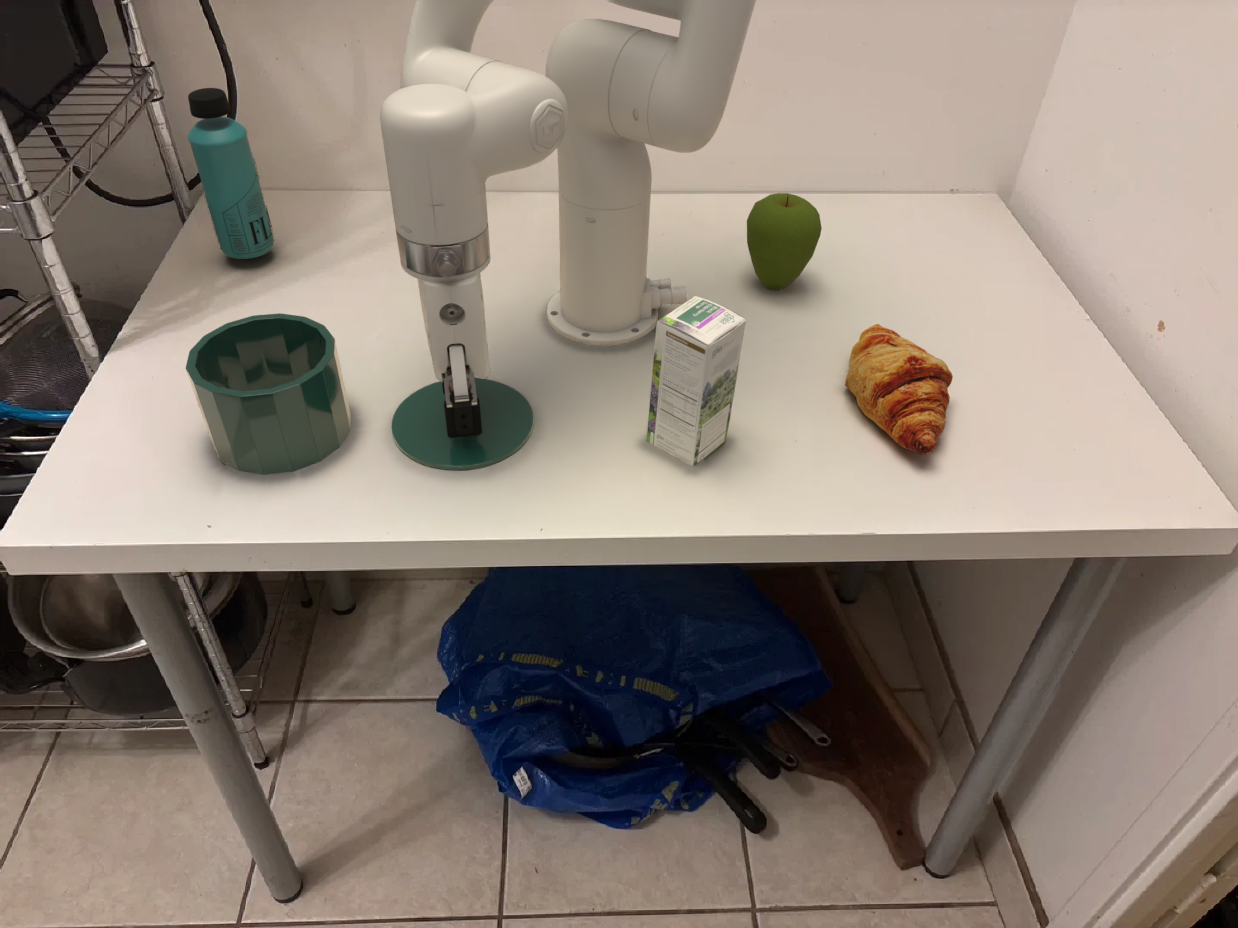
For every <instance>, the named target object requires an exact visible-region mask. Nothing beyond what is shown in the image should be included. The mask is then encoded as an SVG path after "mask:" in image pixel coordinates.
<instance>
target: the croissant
mask: <svg viewBox="0 0 1238 928" xmlns="http://www.w3.org/2000/svg"><path fill="white" fill-rule="evenodd" d="M858 339H859V340H858V341H857V342H856V343H855V344H854V345H853V346H852V349H851V352H850V356H849V361H848V367H849V370H848V374H847V376H846V377H845V378H846V379H845V382H844V386H845V387H846V388H847V389H848V390H849V391H850V392H851V394H853V396H854V397H856V403H857V406H858V408H859V409H860V411H862V413H863V415H864V416H866V417H867V418H868V419H869V420H871V421H872V422H873V423H875V424H876V425H877V426H878V427H879V428H880V429H881V430H883V431H884V432H885V433H886V434H887V435H888V436H889V437H890V438H891V439H892V440H893V441H894V442H895V443H896V444H897V445H898V446H900V447H902V448H904V449H906V450H909V451H912V452H914V453H918V454H919V455H927V454H931V453H933V452H934V451H935V450H936V448H937V446H938V445H939V441H938V438H939V437H940V436H941V435H942V434H943V433H944V430H945V427H946V423H947V421H946V417H947V415H946V413H947V411H948V407H949V404H950V398H951V397H950V394H949V390H948V389H949V388H950V386H951V384H952V383H953V372H952V371H951V370H950V369H949V367H948V364H947V363H946V362H945V361H944V360H942V359H941V358H939V357H937V356H935V355H933V354H931V353H929V352H928V351H927V350H925V349H924V348H922V347H921V346H919V345H917V344H915V343H914V342H912V341H910V340H908V339H906V338H905V337H902V336H901V334H899V333H897V332H896V331H895V330H893V329H890V328H887V327H883V326H882V325H880V324H879V323H875V324H873V325H871V326H869V327H868V328H866V329H864V330H863V331H862V332H861V333H860V335H859V338H858Z"/></svg>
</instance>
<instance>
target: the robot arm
mask: <svg viewBox="0 0 1238 928" xmlns="http://www.w3.org/2000/svg"><path fill="white" fill-rule="evenodd" d="M606 1H607V2H609V3H612V4H614V5H616V6H620V7H623V8H625V9H626V8H627V9H631V10H634V11H637V12H642V13H646V14H651V15H655V16H659V17H663V18H668V19H672V20H677V21H680V24H679V25H680V26H679V32H678V36H676V35H670V34H666V33H663V32H657V31H654V30H651V29H649V28H644V27H640V26H635V25H632V24H628V23H627V24H626V23H624V22H619V21H614V20H608V19H602V18H585V19H580V20H577V21H574V22H572V23H570V24H568V25H566V26H564V27H563V29H562V30H560V31H559V32H558V33H557V35H556V36H555V37H554V39H553V41H552V42H551V45H550V47H549V50H548V53H547V57H546V63H545V75H544V74H542V73H540V72H538V71H534V70H532V69H528V68H525V67H521V66H518V65H515V64H510V63H507V62H504V61H502V60H497V59H494V58H491V57H487V56H483V55H479V54H477V53H472V48H473V43H474V41H475V37H476V33H477V30H478V27H479V25H480V23H481V21H482V18H483V17H484V15H485V13H486V11H487V10H488V9H489V7H490V6H491V5H492V3H493V2H494V0H416V1H415V4H414V7H413V10H412V15H411V17H410V24H409V28H408V32H407V37H406V42H405V47H404V51H403V57H402V65H401V72H400V84H399V86H400V88H399V89H397V90H395V91H393V92H392V93H390V94H389V95H388V96H387V97H386V98H385V99H384V101H383V102H382V106H381V109H380V114H379V120H380V121H379V122H380V130H381V136H382V144H383V151H384V157H385V162H386V163H385V165H386V173H387V179H388V185H389V186H388V187H389V193H390V199H391V205H392V214H393V219H394V220H393V221H394V227H395V233H396V234H395V235H396V241H397V248H398V255H399V261H400V266H401V268H402V270H403V271H404V272H405V273H406V274H407V275H409V276H411V277H413V278H415V279H417V285H418V291H419V298H420V305H421V312H422V318H423V324H424V329H425V334H426V335H425V336H426V341H427V344H428V349H429V353H430V358H431V364H432V368H433V372H434V375H435V379H436V380H438V382H439V381H441V382H442V387H443V393H444V394H445V395H446V401H444V410H445V418H446V426H447V434H448V437H449V438H457V437H466V436H476V435H480V434H482V424H481V413H480V402H479V398H477V397H476V385H475V378H483V379H488V377H489V376H490V374H491V368H490V357H489V347H488V346H489V345H488V335H487V323H486V312H485V310H486V309H485V301H484V300H485V299H484V291H483V283H482V278H481V277H482V276H481V273H482V272H483V271H485V269H487V268H488V266H489V264H490V263H491V257H492V256H491V245H490V229H489V218H488V217H489V215H488V204H487V203H488V202H487V201H488V200H487V189H486V182H487V180H488V179H489V178H490V177H493V176H497V175H502V174H504V173H509V172H514V171H519V170H522V169H526V168H530V167H532V166H534V165H536V164H539V163H541V162H542V161H544V160H546V159H547V158H548V157H549V156H550V155H552V154H553V153H554V152H555V151H557V152H556V153H557V173H558V175H557V176H558V239H559V244H558V245H559V290H558V291H557V292H556V293H555V294H554V295H553V296H551V298H550V300H549V301H548V302H547V306H546V319H547V321H548V323H549V325H550V327H551V328H552V329H553V330H554V331H555V332H556V333H557V334H559V335H560V336H562V337H564V338H566V339H568V340H570V341H573V342H576V343H579V344H583V345H589V346H597V347H598V346H599V347H605V346H619V345H625V344H628V343H632V342H634V341H637V340H639V339H641V338H643V337H645V336H647V335H648V334H649V333H650V332H653V331H654V329H656V325H657V321H658V320H659V319H658V318H659V317H658V316H659V315H658V314H659V313H658V311H659V309H660V307H661V306H666V305H671V306H673V305H674V306H675V305H682V304H684V303H685V302H687V301H688V290H687V287H686V286H685V285H684V286H675V287H672V281H671V279H670V277H669V278H659V279H652V280H651V279H650V277H647V270H648V254H649V253H648V252H649V235H650V233H649V232H650V213H651V199H652V198H651V195H652V183H653V182H652V181H653V180H652V177H653V176H652V166H651V161H650V156H649V152H648V149H647V146H646V145H648V146H652V147H655V148H659V149H663V150H666V151H670V152H675V153H681V154H690V153H695V152H698V151H700V150H701V149H703V148H704V147H705V146H706V145H707V144H708V143H710V141H711V140H712V139H713V137H714V136H715V134H716V132H717V130H718V129H719V126H720V123H721V121H722V119H723V116H724V114H725V111H726V108H727V104H728V100H729V97H730V94H731V90H732V86H733V84H734V79H735V76H736V73H737V69H738V65H739V62H740V59H741V54H742V51H743V48H744V44H745V41H746V37H747V33H748V30H749V27H750V23H751V19H752V16H753V13H754V9H755V5H756V2H757V0H606ZM465 367H466V368H468V369H469V370H466V369H465ZM450 368H451V371H452V372H447V370H448V369H450ZM467 380H469V387H470V390H468V386H467ZM450 381H453V388H454V391H451V389H450Z"/></svg>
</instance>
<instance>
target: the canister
mask: <svg viewBox="0 0 1238 928" xmlns="http://www.w3.org/2000/svg"><path fill="white" fill-rule="evenodd" d="M341 366H342V365H341V361H340V357H339V352H338V348H337V343H336V339H335V337H334V336H333V335H332V333H331V332H330V331H329V329H328V328H327V327H326V325H324V324H322V323H320V322H318V321H315V320H314V319H311V318H309V317H307V316H304V315H303V316H302V315H295V314H287V313H282V312H281V313H268V314H256V315H250V316H247V317H243V318H240V319H236V320H233V321H229V322H227V323H224V324H222V325H221V326H219V327H217V328H215V329H213V330H212V331H210V332H208V333H206V334H204V335H203V336H202V337H201V338H200V339H199V340H198V341H197V342H196V343H195V345H193V346H192V348H190V350H189V352H188V355H187V360H186V363H185V370H186V373H187V377H188V379H189V382H190V385H191V388H192V391H193V392H194V397H195V400H196V402H197V405H198V408H199V412H200V413H201V417H202V419H203V422H204V425H205V428H206V432H207V434H208V436H209V439H210V442H211V445H212V447H213V449H214V451H215V453H216V456H217V458H218V459H219V461H220V462H221V463H222V464H223V465H224V466H225V467H226V466H227V465H228V466H230V467H232V468H233V469H235V470H237V471H240V472H244V473H250V474H251V473H252V474H257V475H263V476H265V475H274V474H284V473H293V472H296V471H298V470H301V469H304V468H307V467H309V466H313V465H315V464H318V463H319V462H321V461H323V460H324V459H326V458H327V457H329V456H330V455H331V454H333V453H334V452H335V451H336V450H338V449H340V448H341V446H342V445H343V443H344V441H345V440H346V439H347V437H348V435H349V434H350V432H351V429H352V427H351V424H352V423H351V421H352V420H351V419H352V413H351V409H350V404H349V400H348V395H347V391H346V386H345V381H344V375H343V372H342V371H343V370H342V367H341Z"/></svg>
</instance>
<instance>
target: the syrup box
mask: <svg viewBox="0 0 1238 928" xmlns="http://www.w3.org/2000/svg"><path fill="white" fill-rule="evenodd" d="M746 323H747V320H746V319H745V318H743V317H742V316H740V315H739V314H737V313H735V312H733V311H732V310H730V309H728V308H726V307H724V306H722V305H720V304H718V303H716V302H714V301H711V300H709V299H706V298H703V297H700V296H696V295H694V296H693V297H691V298H690V299H689V300H688V299H687V302H685V303H684V304H680V305H679V306H678V307H676V308H675V309H673V310H672V311H670V312H669V313H667V314H666V315H665V316H663V317H661V318H660V319H657V324H656V326H655V335H654V336H655V337H654V338H655V339H654V349H653V361H652V372H651V383H650V395H649V407H648V408H649V409H648V419H647V430H646V431H647V432H646V440H645V441H646V442H647V443H649V444H651V445H652V446H654V447H656V448H658V449H660V450H662V451H663V452H665V453H667V454H669V455H671V456H672V457H674V458H677V459H678V460H680V461H682V462H684V463H686V464H687V465H690V466H691V467H694V466H696V465H697V464H698V463H700V462H701V461H702V460H706V458H708V457H709V456H710V455H711V454H712V453H714V452H715V451H716V450H718V448H719V447H721V446H722V445H723V444H724V443H725V442H726V441H727V439H728V434H729V428H730V421H731V416H732V408H733V402H734V397H735V390H736V384H737V378H738V371H739V366H740V361H741V360H740V359H741V353H742V347H743V340H744V334H745V329H746Z"/></svg>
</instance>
